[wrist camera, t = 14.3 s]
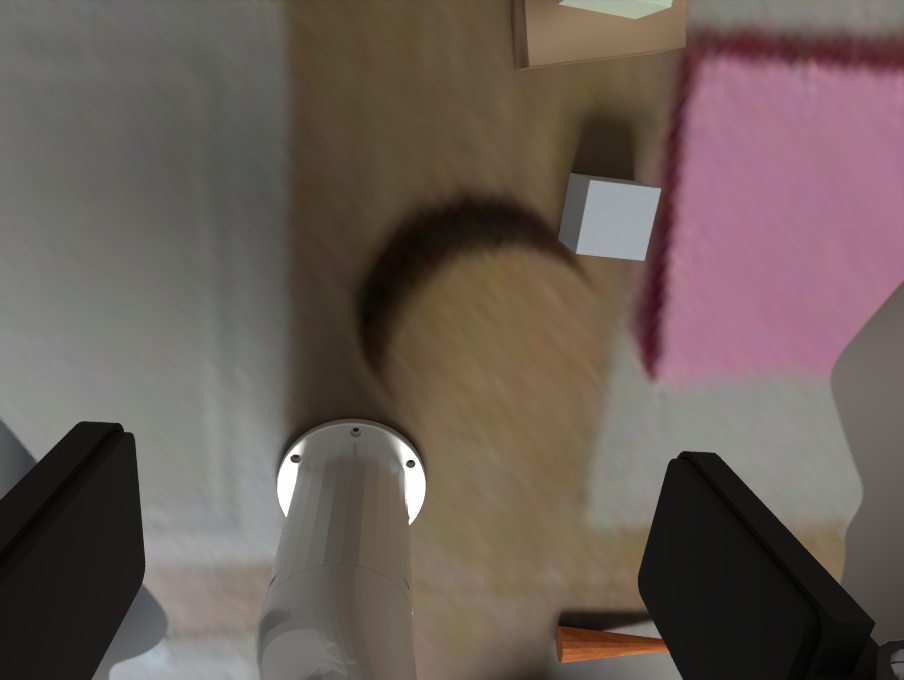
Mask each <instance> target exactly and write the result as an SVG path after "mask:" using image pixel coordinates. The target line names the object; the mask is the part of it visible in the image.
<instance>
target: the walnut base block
mask: <svg viewBox="0 0 904 680" xmlns="http://www.w3.org/2000/svg"><path fill="white" fill-rule="evenodd" d="M558 2H559V0H510V7H511V21H512V35H513V49H514V63H515V71H519V70H527V69H535V68H543V67H551V66H559V65H567V64H575V63H583V62H591V61H599V60H607V59H615V58H623V57H631V56H639V55H647V54H655V53H660V52H664V51H669V50H673V49H678V48H682V47H686V9H687V0H673V1H672V5H671V7H670V8H667V9H664V10H661V11H658V12H655V13H653V14H650V15H647V16H644V17H641V18H638V19H632V18H627V17H622V16H617V15H612V14H607V13H601V12H596V11H591V10H586V9H581V8H576V7H571V6H565V5H560V4H558Z"/></svg>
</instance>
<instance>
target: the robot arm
mask: <svg viewBox="0 0 904 680" xmlns="http://www.w3.org/2000/svg"><path fill="white" fill-rule="evenodd" d="M354 428H359V429H354ZM295 454H297V455H295ZM410 459H412V460H410ZM425 493H426V477H425V470H424V466H423V463H422V460H421V458H420V456H419V454H418V453H417V451H416V449H415V448H414V446H413V445H412V444H411V443H410V442H409V441H408V440H407V439H406V438H405V437H404V436H402V435H401V434H400V433H398V432H397V431H395V430H394V429H392V428H390V427H388V426H386V425H383V424H381V423H377V422H374V421H370V420H364V419H339V420H335V421H331V422H326V423H323V424H321V425H319V426H317V427H314V428H312V429H310V430H309V431H307V432H306V433H304V434H303V435H302V436H300V437H299V438H298V439H297V440H296V441H295V442H294V443H293V444H292V445H291V446H290V448H289V449H288V451H287V453H286V454H285V456H284V458H283V460H282V463H281V466H280V469H279V473H278V477H277V495H278V500H279V504H280V506H281V508H282V510H283V512H284V514H285V516H286V519H285V523H284V527H283V531H282V535H281V538H280V542H279V546H278V550H277V554H276V557H275V561H274V565H273V569H272V573H271V576H270V580H269V584H268V588H267V592H266V595H265V599H264V603H263V607H262V611H261V615H260V619H259V623H258V626H257V632H256V637H255V661H256V666H257V672H258V677H259V680H417V675H416V664H415V649H414V627H413V611H412V584H411V558H410V531H409V525H410V524H411V523H412V522H413V520H414V519H415V517H416V516H417V515H418V513H419V511H420V509H421V507H422V505H423V502H424V497H425ZM144 573H145V553H144V541H143V529H142V517H141V505H140V494H139V482H138V470H137V458H136V446H135V438H134V436H133V434H132V433H131V432H124V429H123V427H122V425H121V424H119V423H106V422H86V421H83V422H79V423H78V424H76V425H75V426H74V427H73V428H72V429H71V430H70V431H69V432H68V433H67V434H66V435H65V436H64V437H63V438H62V439H61V440H60V441H59V442H58V443H57V444H56V445H55V446H54V447H53V448H52V449H51V450H50V451H49V452H48V453H47V454H46V455H45V456H44V457H43V458H42V459H41V460H40V461H39V462H38V463H37V464H36V465H35V466H34V467H33V468H32V469H31V470H30V471H29V472H28V473H27V474H26V475H25V476H24V477H23V478H22V479H21V480H20V481H19V482H18V483H17V484H16V485H15V486H14V487H13V488H12V489H11V490H10V491H9V492H8V493H7V494H6V495H5V496H4V497H3V498H2V499H1V500H0V680H91V679H92V677H93V675H94V674H95V672H96V670H97V668H98V666H99V664H100V662H101V660H102V658H103V657H104V655H105V653H106V651H107V649H108V647H109V645H110V643H111V642H112V640H113V638H114V636H115V634H116V632H117V630H118V628H119V626H120V625H121V622H122V621H123V619H124V617H125V615H126V613H127V611H128V609H129V607H130V606H131V604H132V602H133V600H134V598H135V596H136V594H137V592H138V590H139V589H140V586H141V584H142V581H143V578H144ZM638 588H639V592H640V595H641V598H642V600H643V602H644V604H645V606H646V608H647V609H648V611H649V613H650V615H651V617H652V619H653V621H654V623H655V625H656V627H657V629H658V631H659V633H660V635H661V637H662V639H663V641H664V643H665V645H666V647H667V649H668V651H669V653H670V655H671V657H672V659H673V661H674V663H675V665H676V667H677V669H678V671H679V673H680V674H681V676H682V678H683V680H904V640H894V641H888V642H886V643H884V644H883V645H881V646H880V647H879V646H878V645H877V644H876V642H875V641H874V640H873V639H872V638H871V637H870V634H871V632H872V629H873V627H874V625H875V622H874V621H873V620H872V619H871V618H870V617H869V616H868V615H867V613H865V611H864V610H863V609H862V608H861V607H860V606H859V605H858V604H857V603H856V602H855V601H854V599H853V598H852V597H851V596H850V595H849V594H848V593H847V592H846V591H845V590H844V589H843V588H842V587H841V586H840V585H839V583H838V582H837V581H836V580H835V579H834V578H833V577H832V576H831V575H830V574H829V573H828V572H827V571H826V570H825V569H824V567H823V566H822V565H821V564H820V563H819V562H818V561H817V560H816V559H815V558H814V557H813V556H812V555H811V554H810V553H809V551H808V550H807V549H806V548H805V547H804V546H803V545H802V544H801V543H800V542H799V541H798V540H797V539H796V538H795V537H794V535H793V534H792V533H791V532H790V531H789V530H788V529H787V528H786V527H785V526H784V525H783V524H782V523H781V522H780V521H779V520H778V518H777V517H776V516H775V515H774V514H773V513H772V512H771V511H770V510H769V509H768V508H767V507H766V506H765V505H764V504H763V502H762V501H761V500H760V499H759V498H758V497H757V496H756V495H755V494H754V493H753V492H752V491H751V490H750V489H749V488H748V486H747V485H746V484H745V483H744V482H743V481H742V480H741V479H740V478H739V477H738V476H737V475H736V474H735V473H734V472H733V470H732V469H731V468H730V467H729V466H728V465H727V464H726V463H725V462H724V461H723V460H722V459H721V458H720V457H719V456H718V455H717V454H716V453H710V452H690V451H683V452H681V453H680V454H679V456H678V457H677V459H672V460H671V461H670V462H669V464H668V467H667V470H666V474H665V478H664V482H663V485H662V489H661V493H660V496H659V500H658V504H657V507H656V511H655V515H654V519H653V522H652V526H651V530H650V533H649V537H648V541H647V544H646V548H645V552H644V556H643V559H642V563H641V567H640V570H639V575H638Z"/></svg>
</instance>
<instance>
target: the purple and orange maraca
mask: <svg viewBox="0 0 904 680" xmlns="http://www.w3.org/2000/svg"><path fill="white" fill-rule="evenodd" d="M556 647H557V655H558V659H559V662H560V663H566V662H574V661H583V660H592V659H600V658H609V657H617V656H626V655H635V654H643V653H652V652H660V651H664V652H666V653H668V654H670V653H669V651H668V649H667V647H666V645H665V643H664V641H663V639H658V638H650V637H642V636H634V635H627V634H619V633H611V632H603V631H596V630H588V629H580V628H572V627H565V626H557V635H556Z"/></svg>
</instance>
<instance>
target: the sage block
mask: <svg viewBox="0 0 904 680" xmlns="http://www.w3.org/2000/svg"><path fill="white" fill-rule="evenodd" d="M672 1H673V0H559V2H558V4H560V5H565V6H571V7H576V8H581V9H586V10H591V11H596V12H601V13H607V14H612V15H617V16H622V17H627V18H632V19H638V18H641V17H644V16H647V15H650V14H653V13H655V12H658V11H661V10H664V9H667V8H670V7H671V5H672Z"/></svg>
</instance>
